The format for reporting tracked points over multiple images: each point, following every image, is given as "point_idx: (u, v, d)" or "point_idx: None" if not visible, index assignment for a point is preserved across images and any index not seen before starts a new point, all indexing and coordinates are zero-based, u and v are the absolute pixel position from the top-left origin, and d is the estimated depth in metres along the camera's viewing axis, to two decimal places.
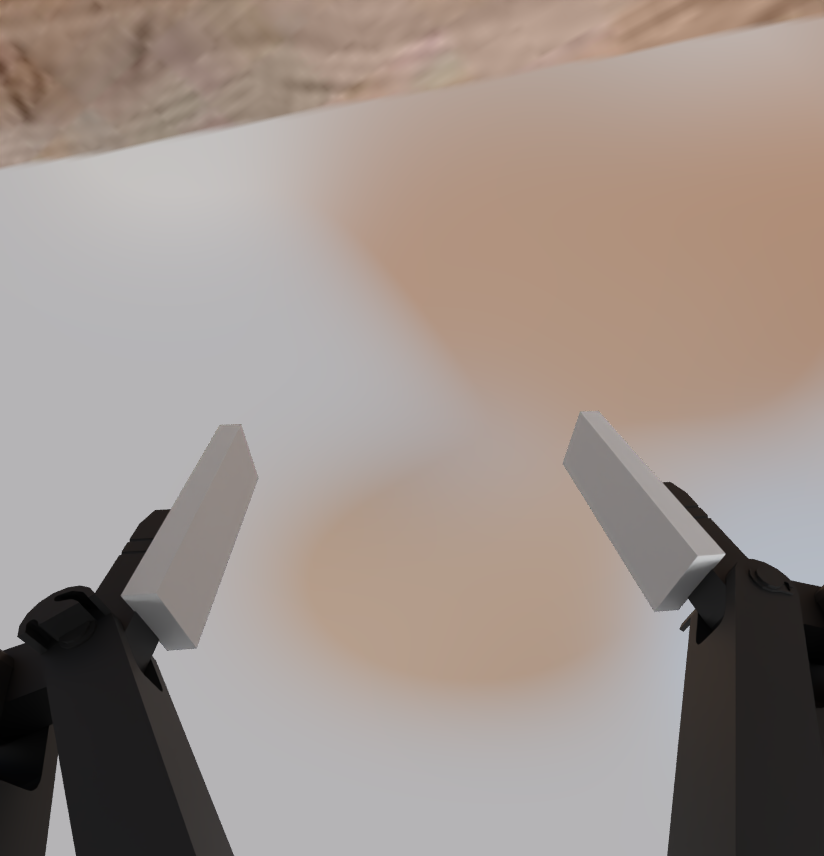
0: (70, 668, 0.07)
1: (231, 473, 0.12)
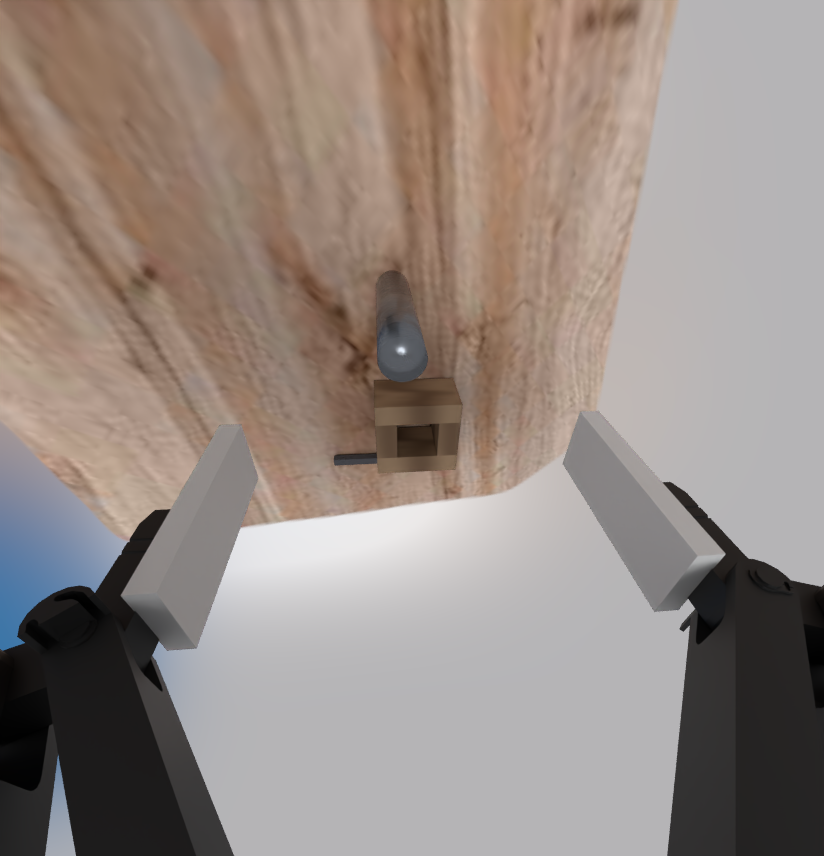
0: (70, 668, 0.07)
1: (231, 473, 0.12)
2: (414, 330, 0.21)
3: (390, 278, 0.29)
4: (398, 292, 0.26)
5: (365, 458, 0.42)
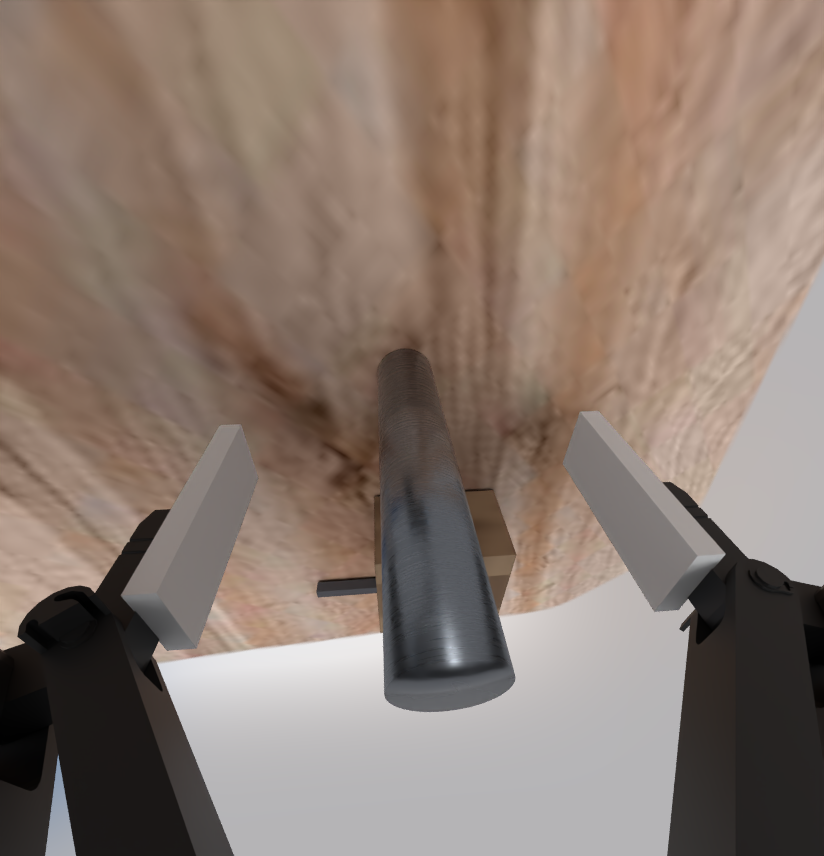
0: (70, 668, 0.07)
1: (231, 473, 0.12)
2: (477, 597, 0.08)
3: (403, 372, 0.16)
4: (421, 419, 0.13)
5: (361, 588, 0.29)
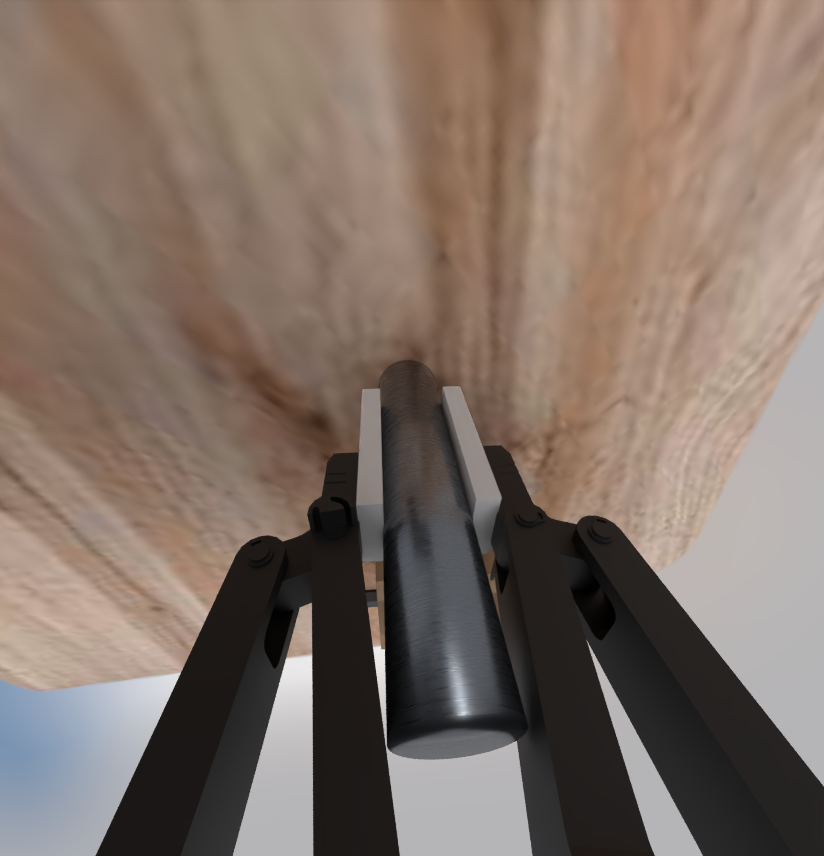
0: (327, 553, 0.09)
1: None
2: (486, 637, 0.08)
3: (406, 386, 0.16)
4: (424, 437, 0.13)
5: None
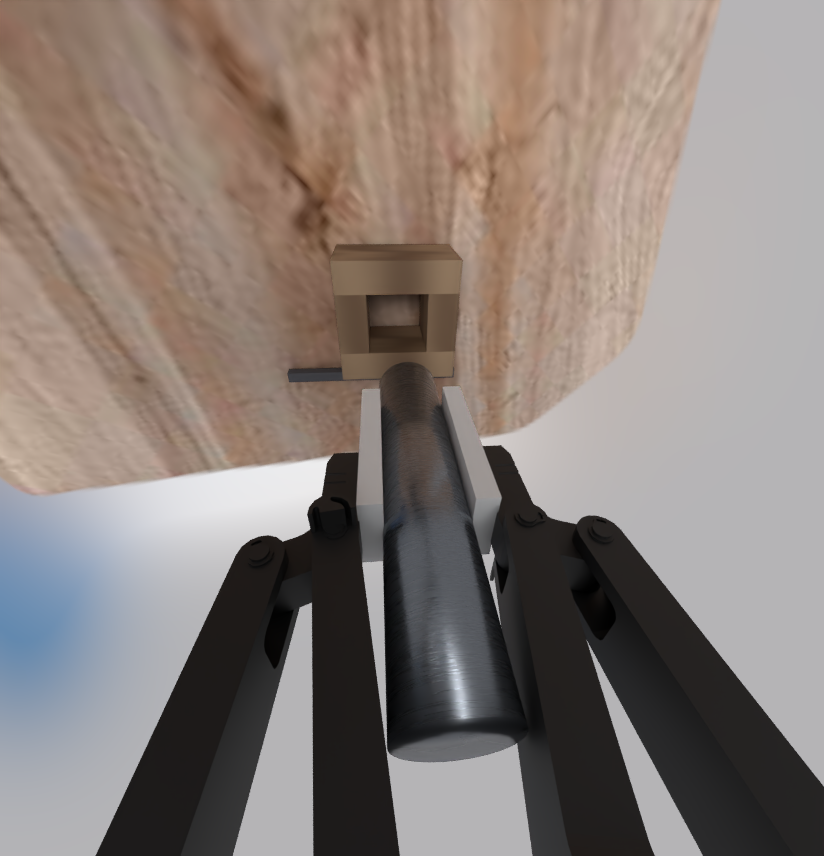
0: (327, 553, 0.09)
1: None
2: (487, 640, 0.08)
3: (406, 387, 0.16)
4: (424, 438, 0.13)
5: (330, 372, 0.31)
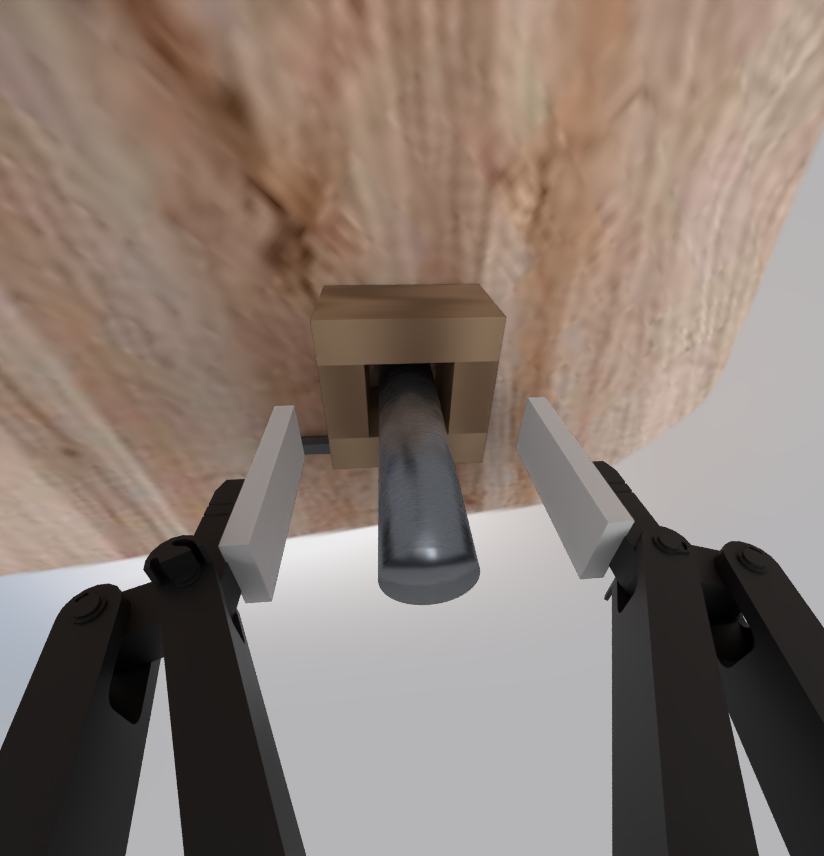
0: (178, 606, 0.08)
1: (289, 449, 0.14)
2: (452, 510, 0.11)
3: None
4: (414, 388, 0.16)
5: (318, 444, 0.24)
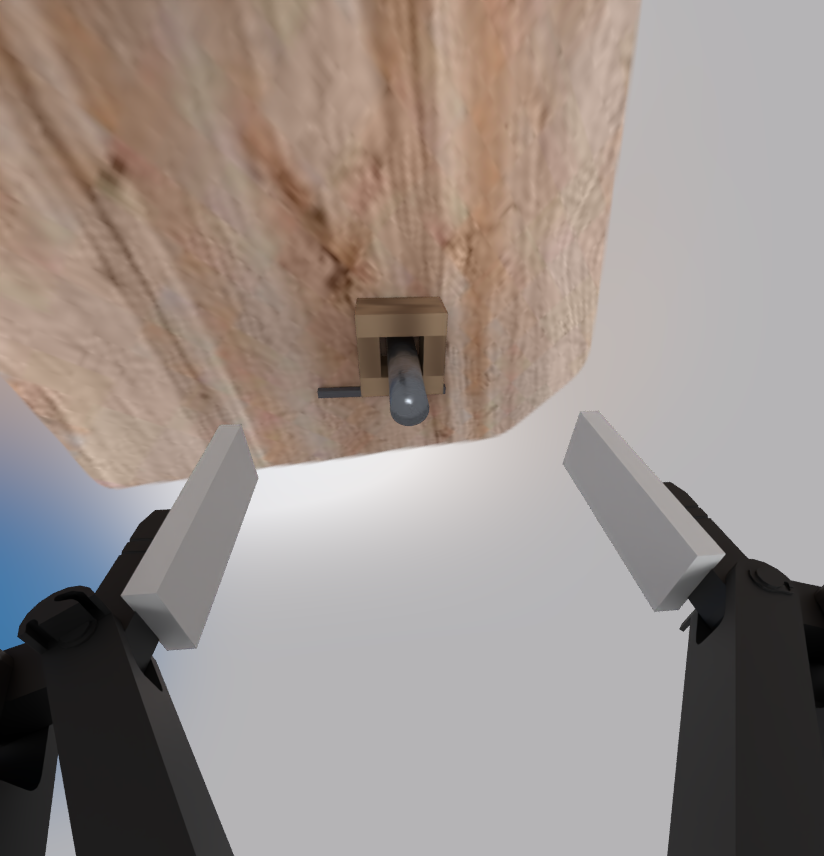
0: (70, 668, 0.07)
1: (231, 473, 0.12)
2: (418, 386, 0.27)
3: None
4: (405, 347, 0.32)
5: (350, 390, 0.40)
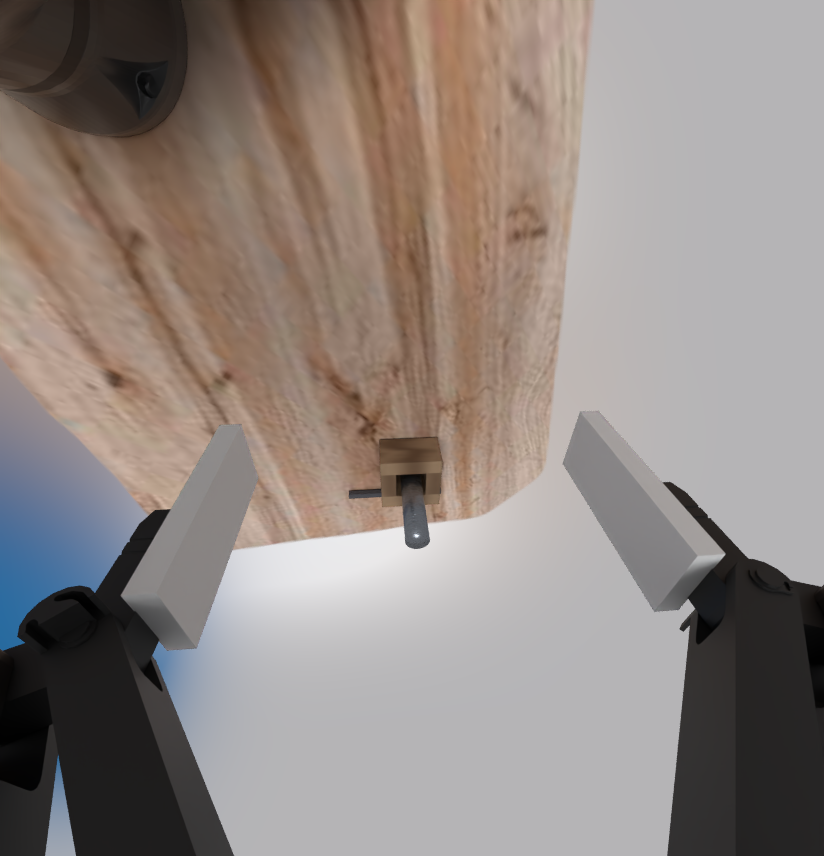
0: (70, 668, 0.07)
1: (231, 473, 0.12)
2: (423, 524, 0.42)
3: None
4: (413, 483, 0.48)
5: (372, 493, 0.56)
